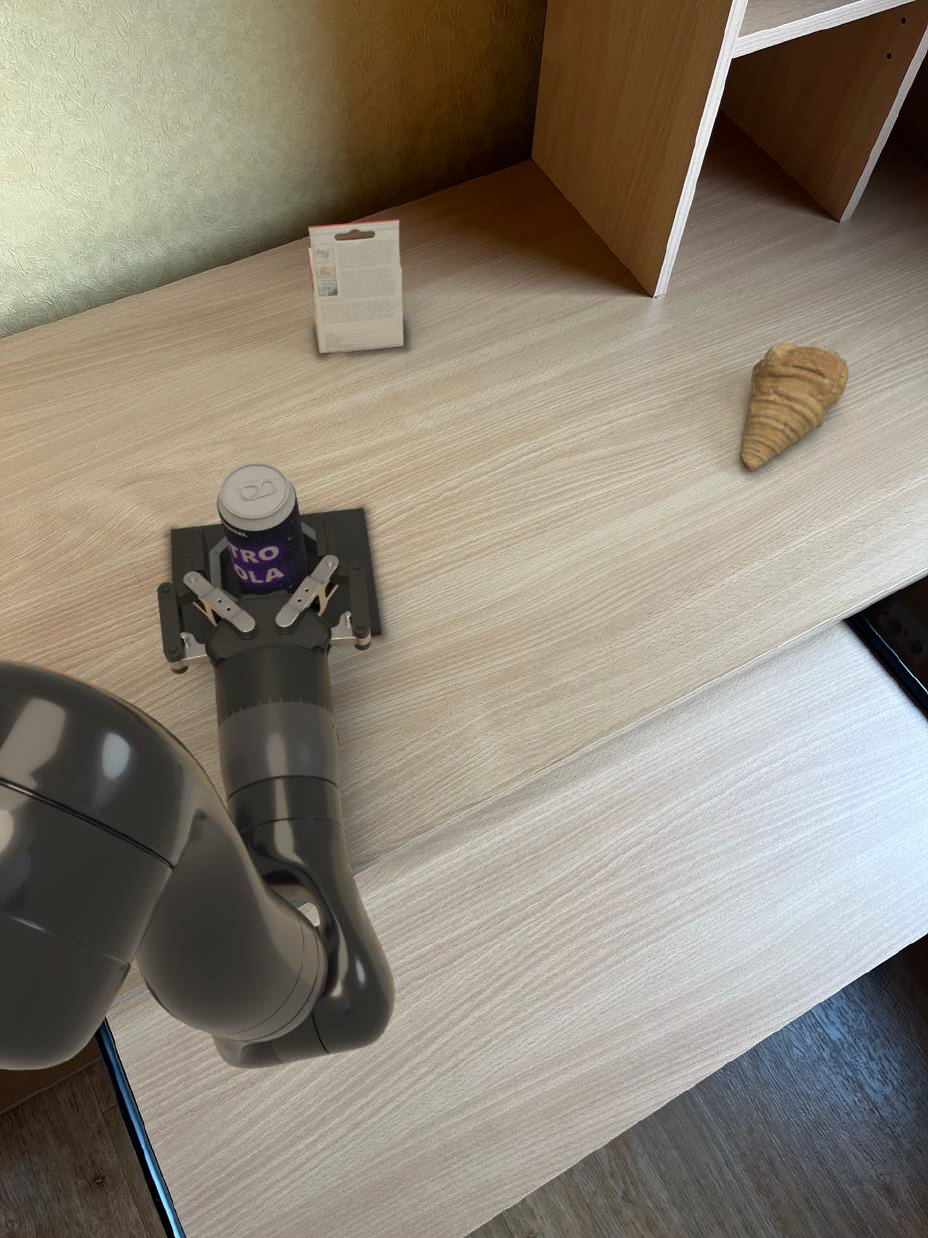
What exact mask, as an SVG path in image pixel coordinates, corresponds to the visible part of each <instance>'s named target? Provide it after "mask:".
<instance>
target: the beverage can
mask: <svg viewBox="0 0 928 1238" xmlns="http://www.w3.org/2000/svg"><path fill="white" fill-rule="evenodd" d="M216 507H217V508H216V509H217V512H218V516H219V519H220V522H221V523H220V524H222V526H223V530H224V534H225V537H226V541H227V544H228V548H229V551H230V555H231V559H232V562H233V566H234V569H235V573H236V576H237V580H238V583H239V586H240V588H241V590H242V591H243V592H244V593H245V594H246V595H248V594H258V595H266V594H269V593H272V592H274V591H280V590H287V593H291V594H294V593H295V592H296V590H297V589H298V588H299V586H300V585H301V583H302V582H303V581H304V579H305V578H306V577H307V576H309V568H308V561H307V556H306V550H305V544H304V538H303V532H302V526H301V520H300V515H301V514H300V508H299V502H298V497H297V491H296V489H295V486H294V484H292V482H291V481H290V480H289V479H288V478H287V476H286V475H285V473H284V472H282V470H281V469H279V468H277V467H276V466H274V465H272V464H268V463H264V462H249V463H245V464H241V465H239V466H237V467H235V468H233V469H232V470H231V471H229V472H228V473H227V475H226V476H225V477H224V478H223V480H222V482H221V484H220V487H219V492H218V495H217V499H216Z"/></svg>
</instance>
